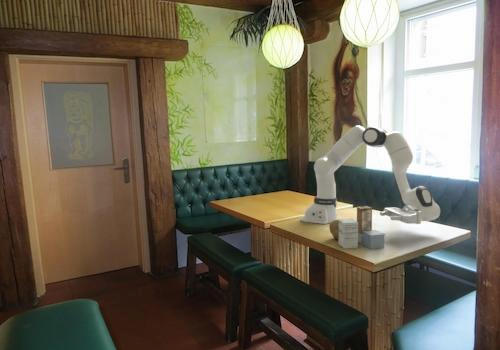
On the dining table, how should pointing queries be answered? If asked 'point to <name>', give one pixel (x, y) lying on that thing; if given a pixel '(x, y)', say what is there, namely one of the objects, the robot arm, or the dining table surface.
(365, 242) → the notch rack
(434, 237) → the dining table surface
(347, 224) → the supplement box
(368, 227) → the frame block
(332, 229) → the natural sponge
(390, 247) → the dining table surface
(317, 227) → the dining table surface
